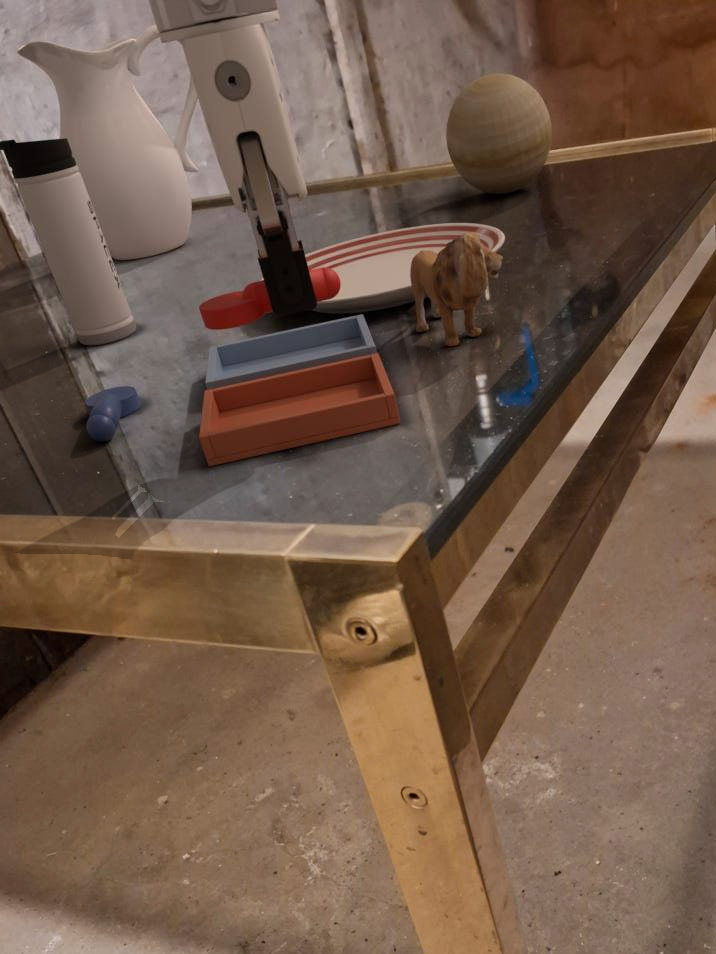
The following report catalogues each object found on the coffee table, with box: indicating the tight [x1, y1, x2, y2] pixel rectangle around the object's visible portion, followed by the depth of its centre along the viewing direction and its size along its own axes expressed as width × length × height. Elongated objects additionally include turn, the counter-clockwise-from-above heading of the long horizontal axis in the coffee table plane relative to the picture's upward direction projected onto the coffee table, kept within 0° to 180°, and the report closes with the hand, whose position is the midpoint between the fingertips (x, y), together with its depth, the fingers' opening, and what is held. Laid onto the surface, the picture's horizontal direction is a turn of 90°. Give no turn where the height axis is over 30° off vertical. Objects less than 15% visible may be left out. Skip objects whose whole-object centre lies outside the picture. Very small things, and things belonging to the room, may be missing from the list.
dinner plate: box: [259, 222, 506, 314], centre depth 100 cm, size 28×27×3 cm
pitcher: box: [16, 23, 199, 261], centre depth 133 cm, size 24×17×28 cm
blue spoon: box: [84, 385, 142, 443], centre depth 78 cm, size 10×4×2 cm, turn 12°
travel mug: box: [0, 138, 138, 347], centre depth 96 cm, size 6×7×20 cm
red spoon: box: [198, 267, 341, 331], centre depth 66 cm, size 10×4×2 cm, turn 102°
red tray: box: [198, 352, 401, 467], centre depth 71 cm, size 14×10×2 cm
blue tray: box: [204, 314, 378, 390], centre depth 81 cm, size 14×10×2 cm
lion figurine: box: [406, 233, 504, 347], centre depth 82 cm, size 15×5×9 cm, turn 35°
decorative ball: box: [445, 72, 553, 195], centre depth 130 cm, size 15×15×15 cm
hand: (294, 304), depth 67 cm, fingers closed on red spoon, 2 cm apart
